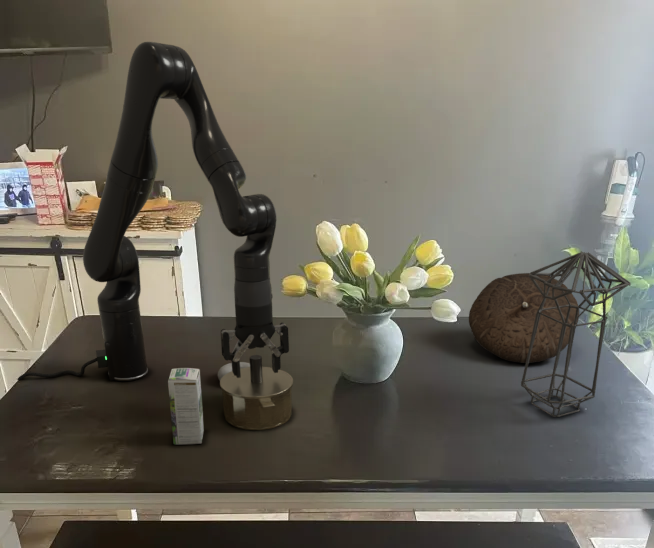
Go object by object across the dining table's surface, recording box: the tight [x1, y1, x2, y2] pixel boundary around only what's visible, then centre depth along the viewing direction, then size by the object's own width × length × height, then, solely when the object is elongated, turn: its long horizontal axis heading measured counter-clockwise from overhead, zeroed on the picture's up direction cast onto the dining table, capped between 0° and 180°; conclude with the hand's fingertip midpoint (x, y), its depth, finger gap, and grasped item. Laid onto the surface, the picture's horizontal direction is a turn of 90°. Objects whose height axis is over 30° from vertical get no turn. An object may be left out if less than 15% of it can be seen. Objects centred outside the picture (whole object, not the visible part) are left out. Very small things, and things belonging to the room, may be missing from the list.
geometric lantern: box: [520, 250, 632, 418], centre depth 145 cm, size 16×16×35 cm
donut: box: [217, 361, 250, 381], centre depth 164 cm, size 10×3×10 cm
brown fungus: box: [468, 272, 580, 364], centre depth 178 cm, size 28×23×25 cm
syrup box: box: [167, 367, 205, 446], centre depth 136 cm, size 6×6×14 cm
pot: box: [221, 388, 293, 431], centre depth 147 cm, size 15×20×8 cm
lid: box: [219, 354, 294, 399], centre depth 144 cm, size 16×16×7 cm
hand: (256, 374), depth 144 cm, fingers open, 7 cm apart
